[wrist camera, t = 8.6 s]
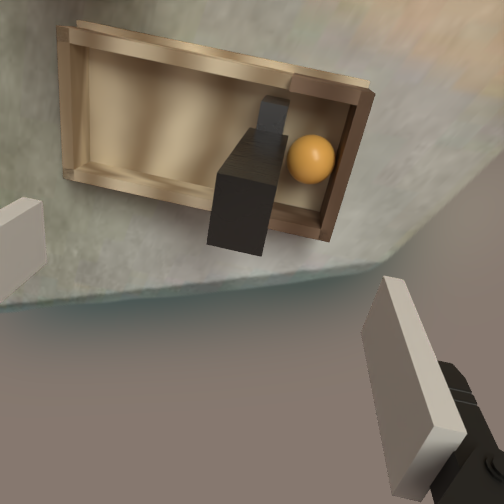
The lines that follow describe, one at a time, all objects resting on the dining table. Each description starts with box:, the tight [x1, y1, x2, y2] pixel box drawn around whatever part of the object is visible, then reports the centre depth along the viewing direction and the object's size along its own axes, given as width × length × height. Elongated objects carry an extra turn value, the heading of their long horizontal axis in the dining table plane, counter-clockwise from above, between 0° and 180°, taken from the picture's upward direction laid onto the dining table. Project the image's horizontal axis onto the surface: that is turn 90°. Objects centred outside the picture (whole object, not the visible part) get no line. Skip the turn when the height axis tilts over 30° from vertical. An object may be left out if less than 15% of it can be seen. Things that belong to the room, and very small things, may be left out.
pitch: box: [56, 20, 375, 242], centre depth 34 cm, size 24×13×5 cm, turn 80°
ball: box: [286, 135, 335, 184], centre depth 33 cm, size 4×4×4 cm
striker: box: [207, 95, 290, 256], centre depth 27 cm, size 3×8×16 cm, turn 170°
